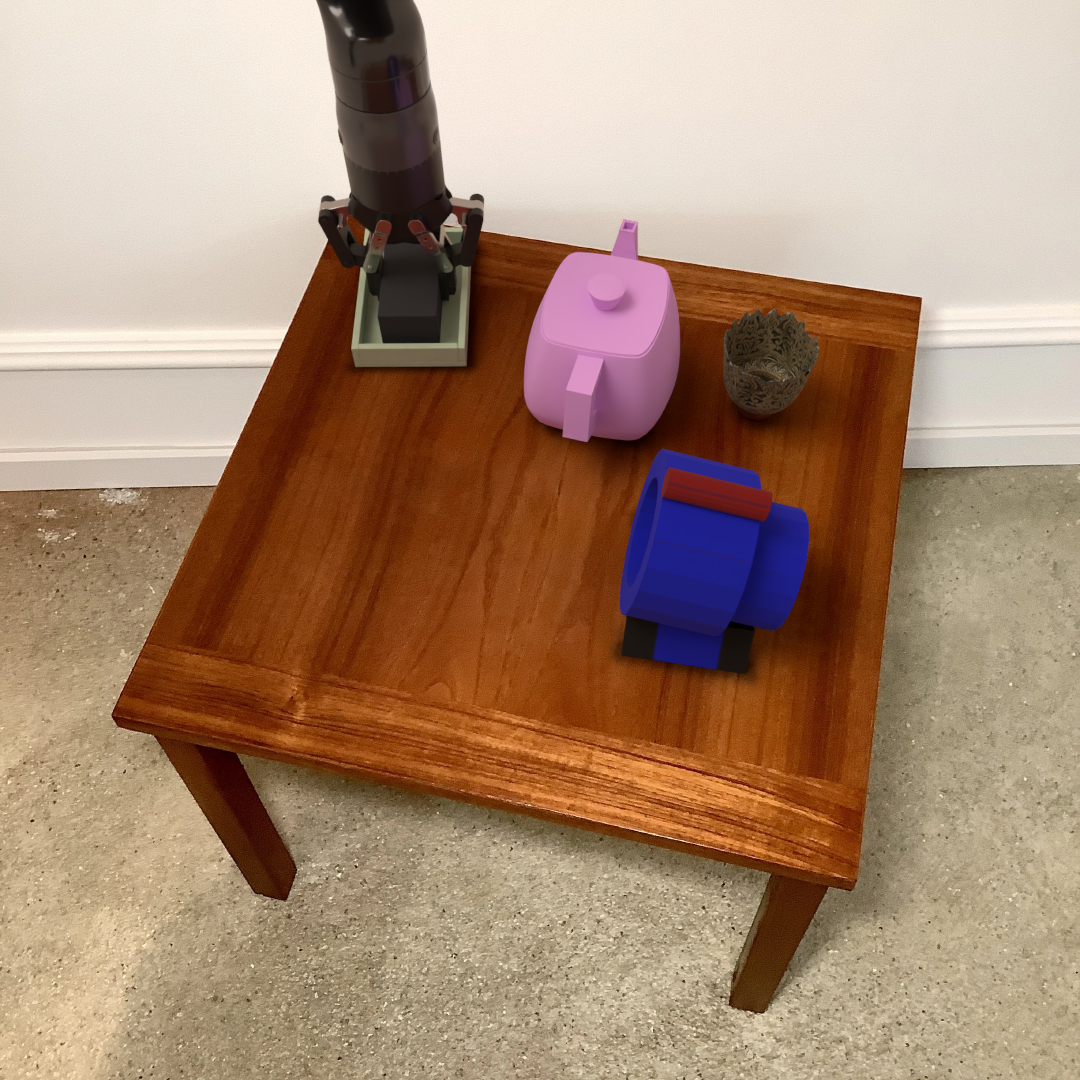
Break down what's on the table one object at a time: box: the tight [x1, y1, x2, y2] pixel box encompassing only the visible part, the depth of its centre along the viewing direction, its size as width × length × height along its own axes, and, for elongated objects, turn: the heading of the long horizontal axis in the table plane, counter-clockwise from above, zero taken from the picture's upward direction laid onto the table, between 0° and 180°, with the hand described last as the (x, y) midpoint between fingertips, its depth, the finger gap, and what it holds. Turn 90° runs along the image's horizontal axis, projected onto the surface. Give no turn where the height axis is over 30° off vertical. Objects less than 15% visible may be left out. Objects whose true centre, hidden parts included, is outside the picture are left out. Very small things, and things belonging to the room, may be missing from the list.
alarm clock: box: [619, 448, 810, 675], centre depth 76 cm, size 12×12×15 cm
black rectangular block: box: [377, 242, 442, 344], centre depth 97 cm, size 11×5×4 cm, turn 0°
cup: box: [722, 308, 821, 421], centre depth 89 cm, size 8×7×8 cm
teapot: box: [523, 218, 681, 443], centre depth 88 cm, size 20×12×13 cm, turn 166°
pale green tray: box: [350, 226, 472, 368], centre depth 98 cm, size 10×15×2 cm, turn 0°
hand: (414, 293), depth 98 cm, fingers closed on black rectangular block, 5 cm apart
